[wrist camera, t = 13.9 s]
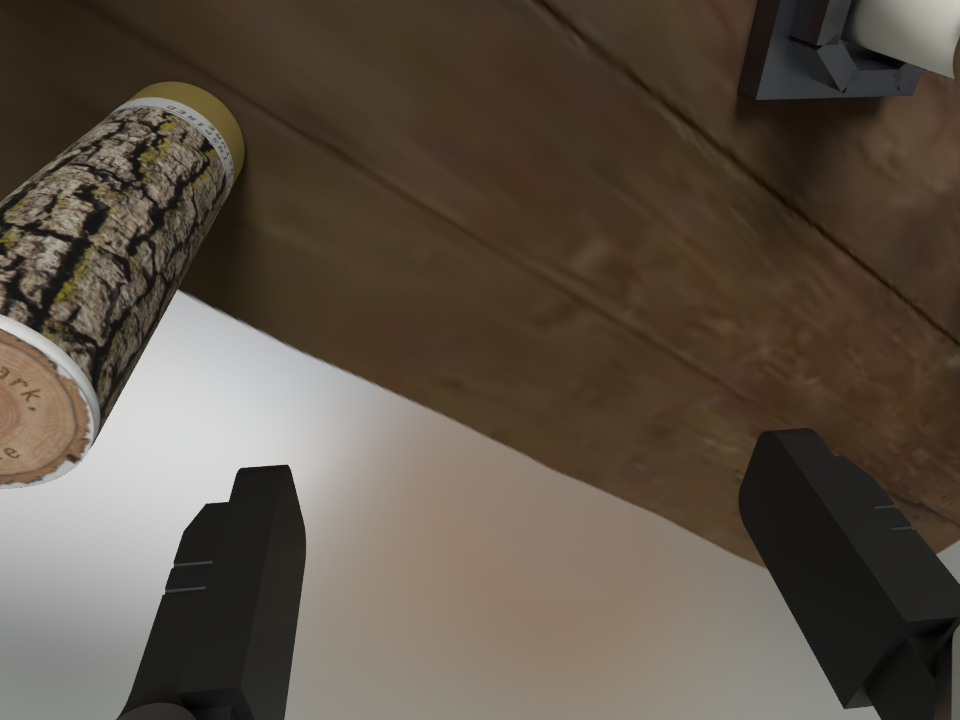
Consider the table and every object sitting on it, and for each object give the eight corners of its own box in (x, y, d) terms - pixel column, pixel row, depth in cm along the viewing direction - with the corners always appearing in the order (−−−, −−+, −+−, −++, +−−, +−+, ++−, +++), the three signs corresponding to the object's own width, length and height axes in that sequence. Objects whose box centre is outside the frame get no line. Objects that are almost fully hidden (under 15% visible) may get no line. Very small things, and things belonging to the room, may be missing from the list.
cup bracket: (783, -108, 34) (840, -107, 30) (956, -107, 35) (1036, -107, 31) (738, 89, 40) (780, 114, 36) (887, 85, 41) (946, 109, 37)
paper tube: (164, 50, 36) (-130, 260, 16) (269, 134, 39) (137, 396, 19) (105, 141, 38) (-214, 421, 18) (209, 212, 41) (35, 517, 21)
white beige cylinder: (835, -50, 34) (1008, -24, 24) (919, -50, 34) (1122, -25, 25) (807, 49, 37) (952, 106, 27) (886, 47, 37) (1056, 103, 28)
